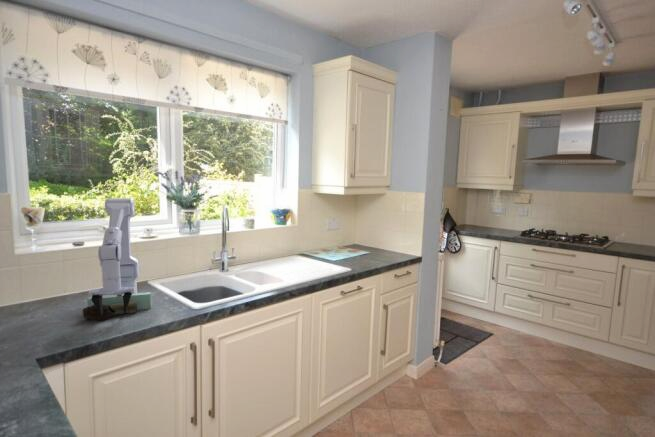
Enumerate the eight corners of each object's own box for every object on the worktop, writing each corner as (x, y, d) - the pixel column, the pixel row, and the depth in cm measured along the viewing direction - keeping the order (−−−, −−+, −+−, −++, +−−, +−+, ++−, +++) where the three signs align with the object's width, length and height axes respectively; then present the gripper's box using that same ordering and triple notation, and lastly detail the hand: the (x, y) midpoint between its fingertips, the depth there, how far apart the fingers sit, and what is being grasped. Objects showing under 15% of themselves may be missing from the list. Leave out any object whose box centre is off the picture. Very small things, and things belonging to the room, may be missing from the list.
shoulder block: (90, 311, 147) (89, 294, 146) (151, 306, 153) (151, 290, 153) (88, 314, 144) (87, 297, 143) (150, 308, 151) (150, 292, 150)
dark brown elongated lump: (136, 310, 149) (135, 296, 148) (137, 316, 143) (136, 301, 143) (83, 317, 140) (82, 303, 140) (82, 324, 135) (81, 309, 134)
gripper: (85, 282, 130) (87, 319, 131) (131, 278, 134) (133, 315, 136) (91, 276, 136) (93, 312, 138) (135, 273, 141) (137, 308, 142)
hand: (113, 313), depth 137 cm, fingers open, 7 cm apart
